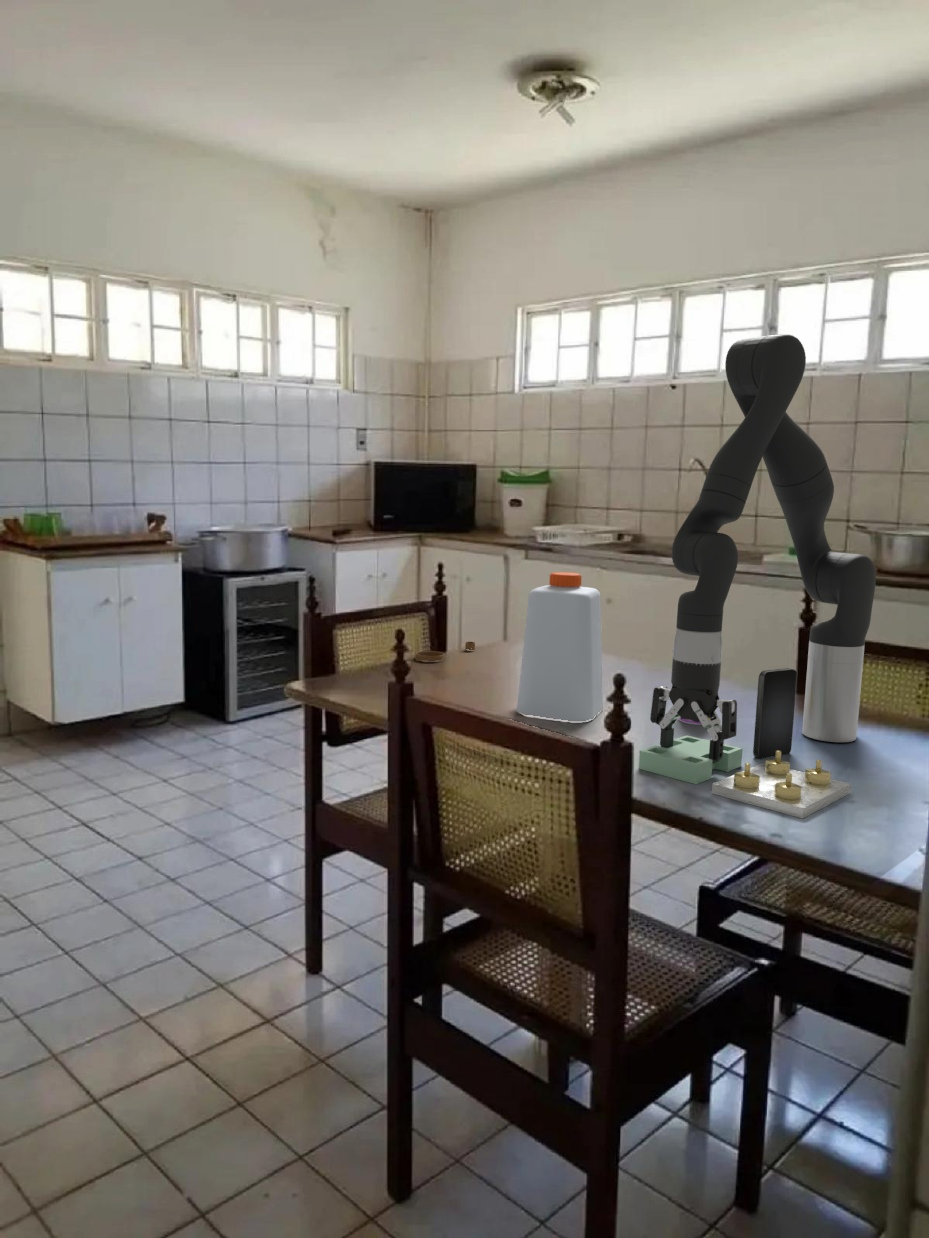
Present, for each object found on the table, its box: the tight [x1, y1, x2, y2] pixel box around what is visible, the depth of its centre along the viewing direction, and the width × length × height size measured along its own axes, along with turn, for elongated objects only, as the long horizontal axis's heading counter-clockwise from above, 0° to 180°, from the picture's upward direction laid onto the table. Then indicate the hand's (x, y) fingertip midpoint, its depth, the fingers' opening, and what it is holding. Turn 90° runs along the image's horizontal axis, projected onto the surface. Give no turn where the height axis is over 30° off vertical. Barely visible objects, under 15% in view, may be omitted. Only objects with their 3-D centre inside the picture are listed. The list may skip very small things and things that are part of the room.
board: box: [638, 735, 743, 785], centre depth 151 cm, size 10×14×3 cm
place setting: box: [414, 641, 476, 662], centre depth 225 cm, size 18×20×6 cm
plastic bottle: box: [516, 571, 604, 721], centre depth 180 cm, size 15×15×28 cm
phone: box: [752, 667, 798, 760], centre depth 157 cm, size 8×1×15 cm, turn 118°
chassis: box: [711, 751, 852, 820], centre depth 139 cm, size 14×16×5 cm
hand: (690, 756), depth 151 cm, fingers open, 8 cm apart
